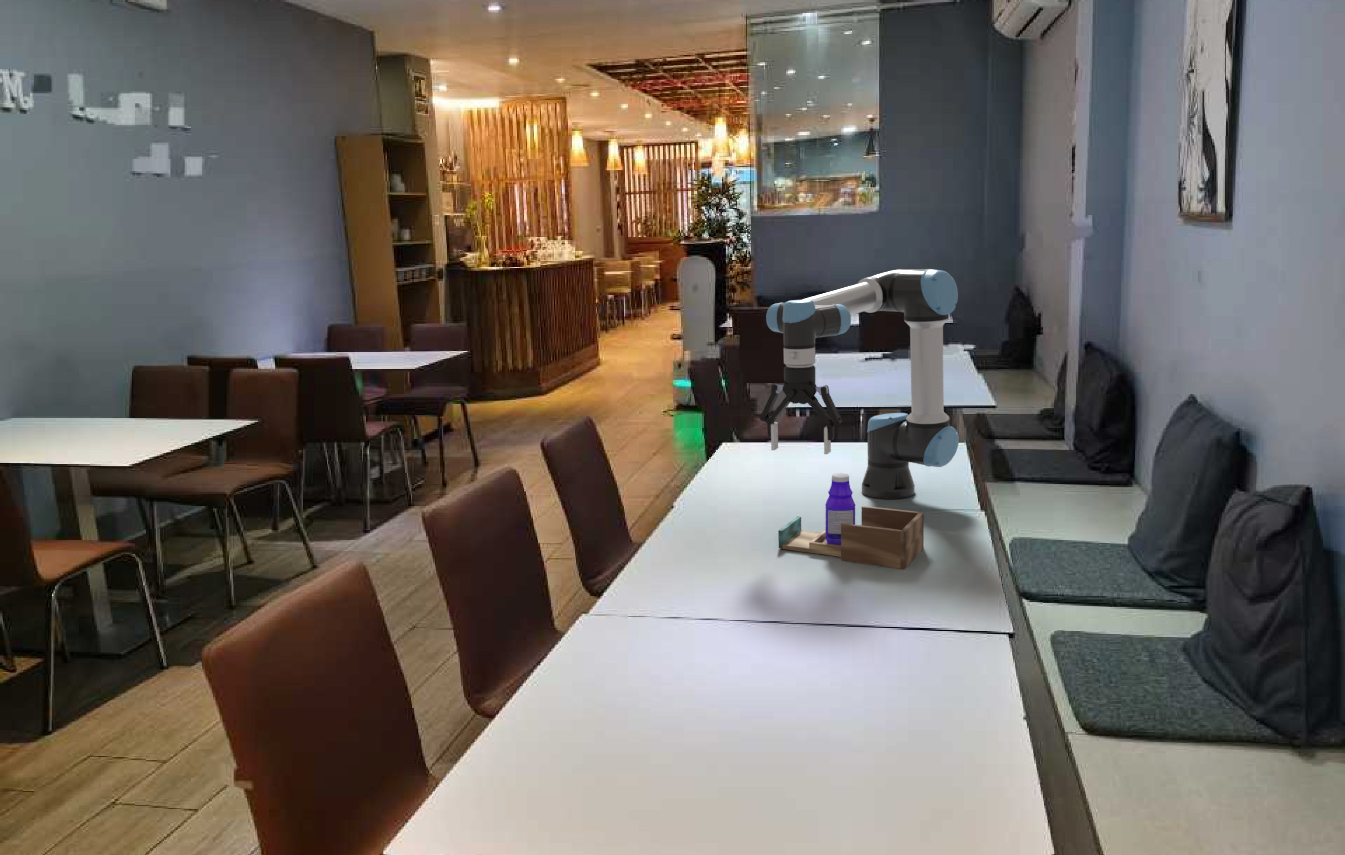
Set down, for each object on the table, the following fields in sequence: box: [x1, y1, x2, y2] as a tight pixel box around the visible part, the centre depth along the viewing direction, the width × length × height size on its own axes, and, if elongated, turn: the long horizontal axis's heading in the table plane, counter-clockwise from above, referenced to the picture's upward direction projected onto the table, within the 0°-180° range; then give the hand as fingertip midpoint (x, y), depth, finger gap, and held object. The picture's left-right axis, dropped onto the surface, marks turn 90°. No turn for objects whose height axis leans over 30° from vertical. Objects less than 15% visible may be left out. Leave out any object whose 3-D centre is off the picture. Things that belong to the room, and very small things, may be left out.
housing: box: [840, 505, 925, 570], centre depth 230 cm, size 16×15×9 cm
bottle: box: [824, 472, 856, 546], centre depth 234 cm, size 7×6×17 cm
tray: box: [777, 516, 841, 558], centre depth 237 cm, size 12×21×5 cm, turn 61°
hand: (800, 451), depth 236 cm, fingers open, 13 cm apart
